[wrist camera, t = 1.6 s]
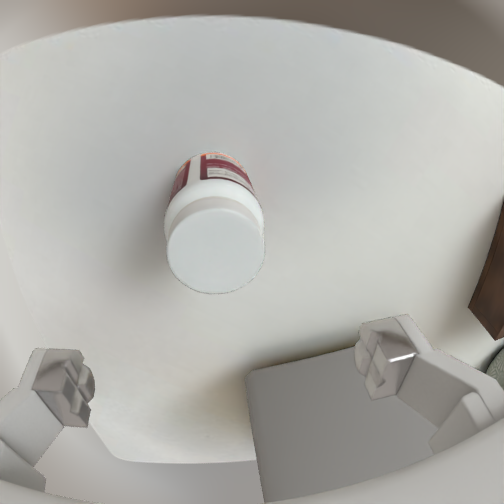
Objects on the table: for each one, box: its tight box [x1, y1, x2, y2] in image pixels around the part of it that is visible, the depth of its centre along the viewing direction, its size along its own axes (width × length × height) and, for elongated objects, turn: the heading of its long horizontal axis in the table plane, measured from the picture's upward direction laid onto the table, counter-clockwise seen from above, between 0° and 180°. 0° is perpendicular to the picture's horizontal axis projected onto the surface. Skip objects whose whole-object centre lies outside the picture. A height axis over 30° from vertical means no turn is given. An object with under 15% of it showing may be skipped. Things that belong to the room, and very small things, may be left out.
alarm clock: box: [245, 346, 438, 503], centre depth 25 cm, size 20×16×18 cm
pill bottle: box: [164, 152, 265, 294], centre depth 16 cm, size 5×5×8 cm
